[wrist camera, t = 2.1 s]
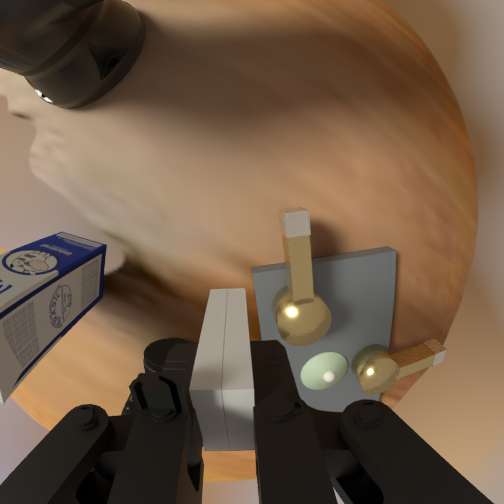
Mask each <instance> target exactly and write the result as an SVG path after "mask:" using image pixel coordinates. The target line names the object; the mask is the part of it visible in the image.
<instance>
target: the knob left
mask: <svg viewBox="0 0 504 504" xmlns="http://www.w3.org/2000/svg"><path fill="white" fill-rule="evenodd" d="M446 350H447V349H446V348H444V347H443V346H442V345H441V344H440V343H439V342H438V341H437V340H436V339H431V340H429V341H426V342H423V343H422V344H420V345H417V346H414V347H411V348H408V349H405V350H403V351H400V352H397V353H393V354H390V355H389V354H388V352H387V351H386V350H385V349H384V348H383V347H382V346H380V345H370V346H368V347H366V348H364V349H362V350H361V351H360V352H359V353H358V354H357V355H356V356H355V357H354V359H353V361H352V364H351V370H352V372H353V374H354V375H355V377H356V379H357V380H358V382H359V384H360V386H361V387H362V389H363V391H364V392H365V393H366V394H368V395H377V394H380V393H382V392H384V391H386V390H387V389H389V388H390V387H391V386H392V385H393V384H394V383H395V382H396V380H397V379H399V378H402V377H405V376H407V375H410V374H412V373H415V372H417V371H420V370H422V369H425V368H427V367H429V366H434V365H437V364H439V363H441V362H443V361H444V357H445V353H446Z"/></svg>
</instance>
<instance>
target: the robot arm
mask: <svg viewBox="0 0 504 504" xmlns="http://www.w3.org/2000/svg"><path fill="white" fill-rule="evenodd" d="M144 36H145V28H144V24H143V21H142V19H141V17H140V16H139V14H138V13H137V11H136V10H135V8H134V7H132V6H131V5H130V4H128V3H127V2H124V1H122V0H0V68H3V69H6V70H9V71H11V72H15V73H17V74H19V75H22V76H24V77H25V79H26V80H27V81H28V83H29V84H30V85H31V86H32V87H33V88H34V89H35V90H36V92H37V94H38V95H39V96H40V97H41V98H42V99H43V100H44V101H46V102H47V103H50V104H52V105H55V106H58V107H61V108H75V107H80V106H83V105H86V104H88V103H90V102H92V101H94V100H96V99H98V98H99V97H101V96H102V95H104V94H105V93H107V92H108V91H109V90H110V89H112V88H113V87H114V86H115V85H116V84H117V83H118V82H119V81H120V80H121V79H122V78H123V77H124V76H125V75H126V73H127V72H128V71H129V70H130V68H131V67H132V65H133V64H134V62H135V61H136V59H137V57H138V55H139V53H140V51H141V48H142V45H143V42H144ZM165 361H166V362H165V363H164V366H163V370H162V371H161V372H152V373H148V374H144V375H141V376H140V377H138V378H136V379H135V380H133V382H132V383H131V384H130V386H129V388H130V391H131V394H132V396H133V399H134V401H135V404H136V406H137V409H138V411H137V412H136V413H132V414H128V415H119V416H108V415H107V413H106V411H105V410H104V409H103V408H101V407H100V406H97V405H93V404H85V405H80V406H78V407H75V408H74V409H72V410H71V411H69V412H68V413H67V414H66V415H65V416H64V417H63V419H62V420H61V421H60V422H59V423H58V424H57V425H56V426H55V427H54V428H53V429H52V430H51V431H50V432H49V433H48V434H47V435H46V436H45V437H44V439H43V440H42V441H41V442H40V443H39V444H38V445H37V446H36V447H35V448H34V449H33V450H32V451H31V452H30V453H29V454H28V455H27V457H26V458H25V459H24V460H23V461H22V462H21V463H20V464H19V465H18V466H17V467H16V468H15V470H14V471H13V472H12V473H11V474H10V475H9V476H8V477H7V478H6V479H5V481H4V482H3V483H2V484H1V485H0V504H202V487H203V472H204V463H203V458H202V444H203V447H204V450H205V451H243V450H255V454H256V476H257V483H258V494H259V504H338V503H337V500H336V496H335V493H334V489H335V490H336V492H337V493H338V495H339V496H340V498H341V499H342V501H343V502H344V503H345V504H494V503H492V502H491V501H490V500H489V499H488V498H487V497H486V496H485V495H483V494H482V493H481V492H480V491H479V490H478V489H477V488H476V487H475V486H473V485H472V484H471V483H470V482H469V481H468V480H467V479H466V478H464V477H463V476H462V475H461V474H460V473H459V472H458V471H457V470H456V469H454V468H453V467H452V466H451V465H450V464H449V463H448V462H447V461H446V460H445V459H444V458H443V457H441V456H440V455H439V454H438V453H437V452H436V451H435V450H434V449H433V448H432V447H431V446H430V445H429V444H428V443H426V442H425V441H424V440H423V439H422V438H421V437H420V436H419V435H418V434H417V433H416V432H415V431H414V430H413V429H412V428H410V427H409V426H408V425H407V424H406V423H405V422H404V421H403V420H402V419H401V418H400V417H399V416H398V415H397V414H396V413H395V412H393V410H391V409H390V408H389V407H388V406H387V405H385V404H384V403H382V402H380V401H376V400H373V399H362V400H358V401H354V402H352V403H351V404H349V405H348V406H346V408H345V409H344V411H343V412H331V411H322V410H317V409H315V408H312V407H310V406H309V405H307V404H306V403H305V401H303V400H302V399H301V398H300V395H299V393H298V389H297V386H296V383H295V379H294V376H293V372H292V369H291V366H290V362H289V359H288V355H287V352H286V348H285V347H284V346H283V345H282V344H281V343H280V342H279V341H278V340H264V341H250V340H249V329H248V318H247V306H246V294H245V288H237V289H211V291H210V295H209V299H208V304H207V308H206V312H205V317H204V321H203V326H202V330H201V335H200V340H199V344H179V343H177V344H176V345H175V346H174V347H173V348H172V349H171V350H170V351H169V352H168V355H167V358H166V360H165ZM333 487H334V489H333Z"/></svg>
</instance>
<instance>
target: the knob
mask: <svg viewBox="0 0 504 504" xmlns="http://www.w3.org/2000/svg"><path fill="white" fill-rule="evenodd" d="M278 213H279V222H280V230H281V232H282V239H283V248H284V257H285V267H286V277H287V285H286V286H284V287H283V288H282V289H280V290H279V291H278V293H277V294H276V296H275V297H274V300H273V305H272V309H273V313H274V317H275V320H276V324H277V328H278V331H279V334H280V336H281V337H282V339H283V340H284V341H286V342H287V343H289V344H291V345H294V346H308V345H311V344H314V343H316V342H317V341H319V340H320V339H321V338H323V337H324V336H325V334H326V333H327V332H328V330H329V328H330V325H331V312H330V310H329V308H328V307H327V305H326V304H325V302H324V301H323V300H322V298H321V297H320V295H319V294H318V293H317V291H316V290H315V289H314V288H313V276H312V261H311V248H310V236H309V235H311V230H310V220H309V210H307V209H304V208H302V207H295V208H286V209H278Z"/></svg>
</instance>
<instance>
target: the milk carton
mask: <svg viewBox="0 0 504 504" xmlns="http://www.w3.org/2000/svg"><path fill="white" fill-rule="evenodd" d="M106 247H107V245H105V244H102V243H98V242H95V241H91V240H88V239H84V238H81V237H77V236H74V235H71V234H67V233H64V232H60V233H57V234H54V235H51V236H49V237H46V238H43V239H40V240H38V241H35V242H32V243H30V244H27V245H24V246H22V247H19V248H17V249H14V250H12V251H9V252H7V253H4V254H2V255H0V403H2V404H3V405H4V403H5V401H6V400H7V398H8V397H9V396H10V395H11V394H12V392H13V391H14V390H15V389H16V388H17V387H18V385H19V384H20V383H21V382H22V381H23V380H24V378H25V377H26V376H27V375H28V374H29V373H30V372H31V370H32V369H33V368H34V367H35V366H36V365H37V364H38V363H39V362H40V360H41V359H42V358H43V357H44V356H45V355H46V354H47V353H48V352H49V351H50V350H51V349H52V348H53V346H54V345H55V344H56V343H57V342H58V341H59V340H60V339H61V338H62V337H63V336H64V335H65V334H66V333H67V332H68V331H69V330H70V329H71V328H72V327H73V326H74V325H75V324H76V323H77V322H78V321H79V320H80V319H81V318H82V317H83V316H84V315H85V314H86V313H87V312H88V311H89V310H90V309H91V308H92V307H93V306H94V305H95V304H96V303H97V302H98V301H100V300H101V299H102V295H103V279H104V266H105V256H106Z"/></svg>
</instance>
